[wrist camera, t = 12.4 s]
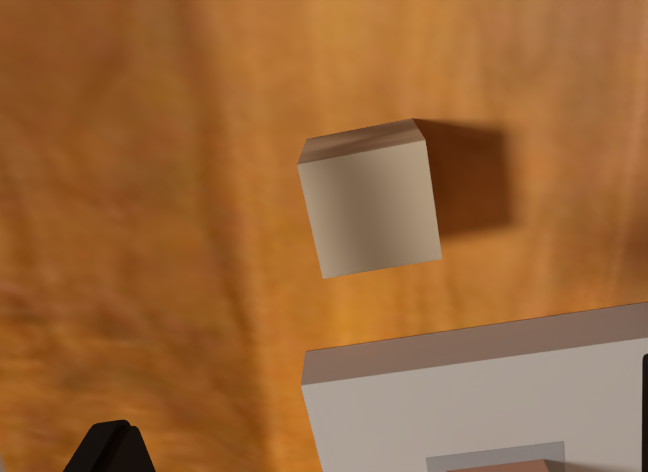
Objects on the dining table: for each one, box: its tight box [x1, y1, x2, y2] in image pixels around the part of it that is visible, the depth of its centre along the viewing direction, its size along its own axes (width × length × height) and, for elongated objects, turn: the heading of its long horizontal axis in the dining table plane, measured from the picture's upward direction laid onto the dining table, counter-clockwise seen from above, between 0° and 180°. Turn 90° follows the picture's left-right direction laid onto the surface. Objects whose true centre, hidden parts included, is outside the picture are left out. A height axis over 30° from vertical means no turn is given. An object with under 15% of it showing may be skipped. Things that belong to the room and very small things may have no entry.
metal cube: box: [297, 118, 442, 279], centre depth 24 cm, size 5×5×5 cm
